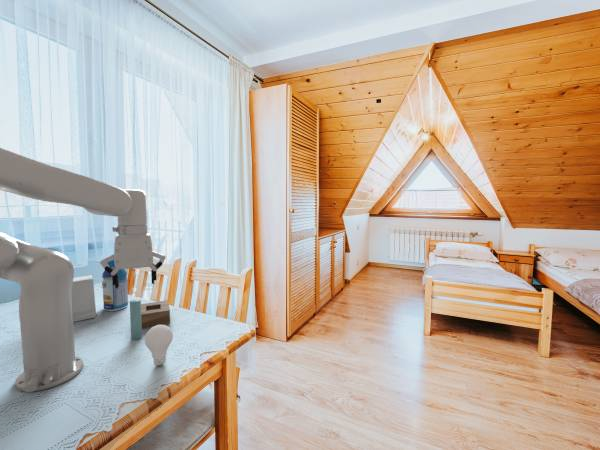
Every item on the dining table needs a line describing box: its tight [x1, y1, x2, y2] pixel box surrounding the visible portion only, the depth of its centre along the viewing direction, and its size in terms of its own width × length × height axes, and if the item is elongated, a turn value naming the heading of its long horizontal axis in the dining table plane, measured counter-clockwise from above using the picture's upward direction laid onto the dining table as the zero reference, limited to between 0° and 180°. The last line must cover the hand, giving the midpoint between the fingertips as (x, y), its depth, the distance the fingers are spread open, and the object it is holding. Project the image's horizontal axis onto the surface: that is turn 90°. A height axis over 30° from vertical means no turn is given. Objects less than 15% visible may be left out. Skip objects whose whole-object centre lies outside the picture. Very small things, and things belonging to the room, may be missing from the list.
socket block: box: [141, 300, 171, 330], centre depth 101 cm, size 10×10×5 cm
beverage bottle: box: [101, 259, 129, 312], centre depth 111 cm, size 8×8×20 cm
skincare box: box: [72, 274, 97, 323], centre depth 101 cm, size 8×6×15 cm
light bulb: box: [144, 324, 174, 367], centre depth 75 cm, size 7×7×11 cm
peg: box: [129, 298, 143, 341], centre depth 89 cm, size 3×3×12 cm
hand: (135, 284), depth 88 cm, fingers open, 9 cm apart
